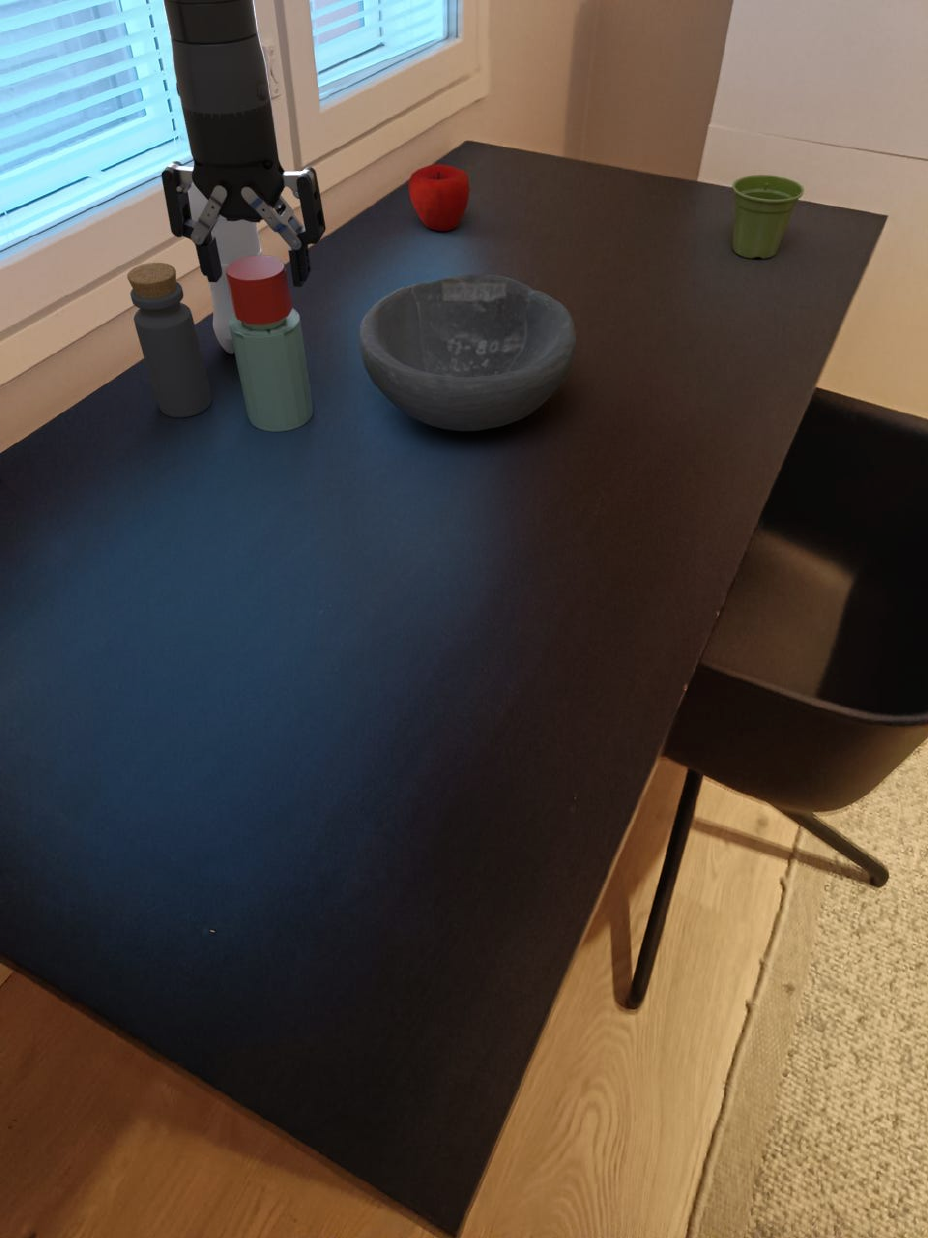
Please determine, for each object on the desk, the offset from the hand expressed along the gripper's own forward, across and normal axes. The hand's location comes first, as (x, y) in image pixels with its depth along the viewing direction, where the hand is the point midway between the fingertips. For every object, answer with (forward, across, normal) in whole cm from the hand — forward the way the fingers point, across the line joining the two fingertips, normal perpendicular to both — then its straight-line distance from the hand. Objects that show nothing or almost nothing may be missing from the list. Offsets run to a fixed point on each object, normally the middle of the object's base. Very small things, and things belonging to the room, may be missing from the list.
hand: (257, 281), depth 87 cm
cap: (+3, 0, 0) cm, 3 cm away
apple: (+15, -9, -52) cm, 55 cm away
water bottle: (+15, +8, -14) cm, 22 cm away
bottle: (+15, +11, -1) cm, 19 cm away
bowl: (+15, -20, -5) cm, 26 cm away
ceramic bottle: (+15, 0, 0) cm, 15 cm away
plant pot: (+15, -55, -49) cm, 75 cm away
